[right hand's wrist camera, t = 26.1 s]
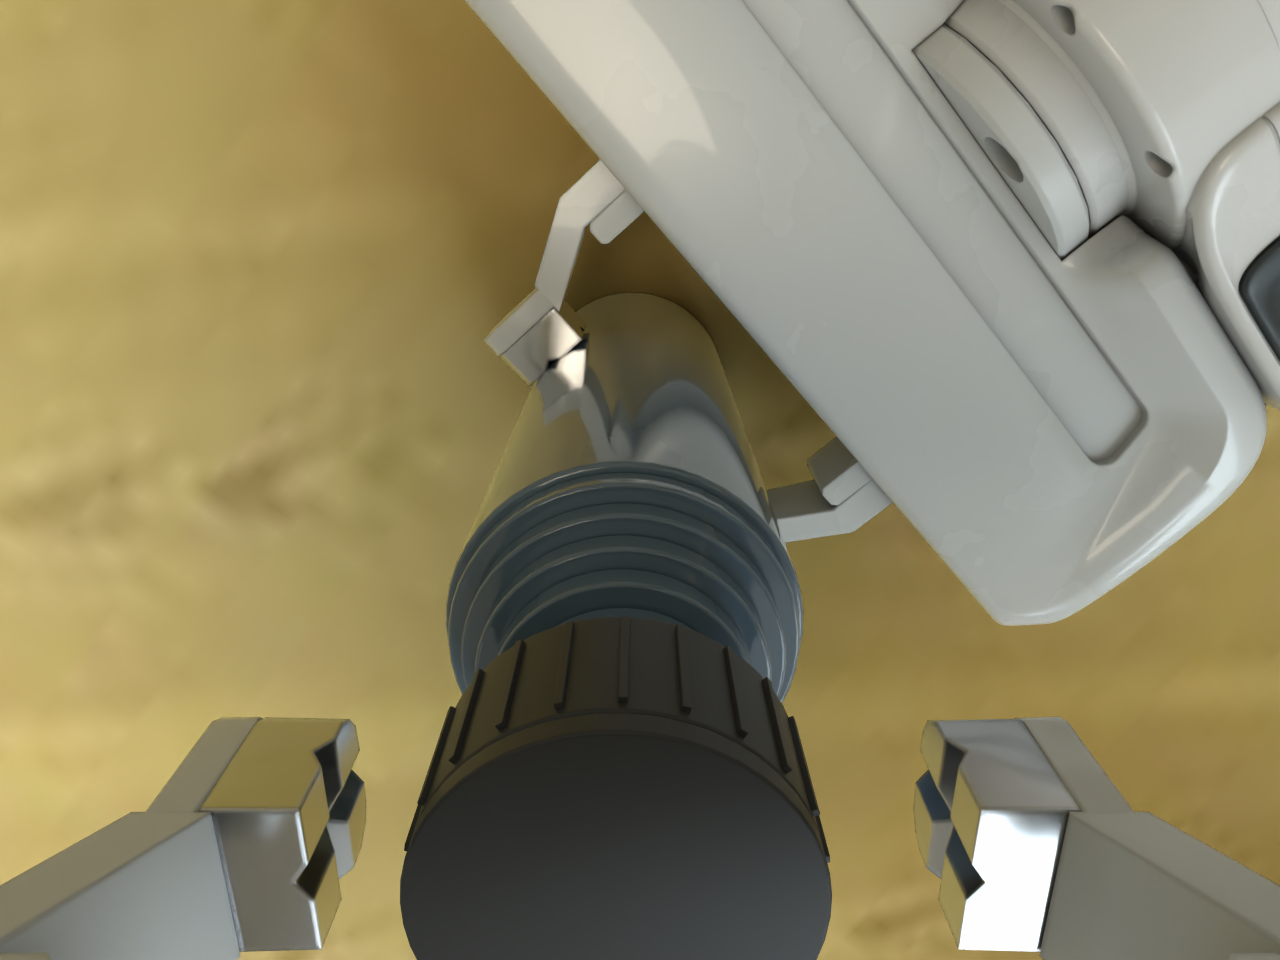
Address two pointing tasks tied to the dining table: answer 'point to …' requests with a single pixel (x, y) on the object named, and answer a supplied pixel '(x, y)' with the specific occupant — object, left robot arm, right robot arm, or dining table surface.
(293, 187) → the dining table surface
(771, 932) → the cap
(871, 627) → the dining table surface
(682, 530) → the bottle
